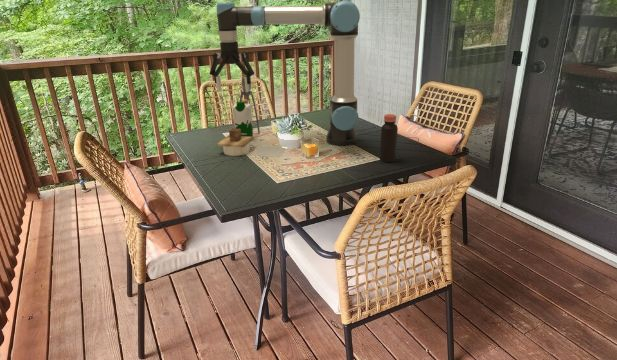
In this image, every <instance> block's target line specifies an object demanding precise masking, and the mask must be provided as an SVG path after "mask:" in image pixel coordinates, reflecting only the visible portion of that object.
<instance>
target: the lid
mask: <svg viewBox="0 0 617 360" xmlns="http://www.w3.org/2000/svg"><path fill="white" fill-rule="evenodd" d="M228 134H229V135H227V136H226V137H224V138H222V139H221V140H220V141H219V142H216V146H217V147H223V146H229V147H245V146H246V145H247V144H248V143H249V144H250V143H251V142H252V141H253V140H255V137H254V136H253V137H248V136H241V129H235V128H231V129H229V130H228Z"/></svg>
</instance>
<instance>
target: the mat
mask: <svg viewBox="0 0 617 360" xmlns="http://www.w3.org/2000/svg"><path fill="white" fill-rule="evenodd" d="M281 146H282V145H270V144H269V145H267V144H259V145H258V146H257V147H256V148H254V150H252V151H251V152H249V153H248V156H257V157H270V158H281V156H282V155H283V154H285V153H286V151H287V150H288V149H285V148H282V147H281Z"/></svg>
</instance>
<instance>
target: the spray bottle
mask: <svg viewBox="0 0 617 360" xmlns="http://www.w3.org/2000/svg"><path fill="white" fill-rule="evenodd" d="M245 77H246V75H244V76H242V78H241V88H242V90H241V91H240V96H239V101H243V97H244V96H245V99H246V100H247V102H248V103H247V104H251V101H250V97H251V100H252V105H253V109H254V113H255V118H256V119H255V121H256V125H257V134H258V135H259V134H260V133H261V132H260V123H259V122H260V121H259V116H258V115H259V114H258V110H257V106H256V100H255V96H254V94H253V90H252V89H251V88H252V83H251V84H249V88H250V91H249V92H246V88H245Z"/></svg>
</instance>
